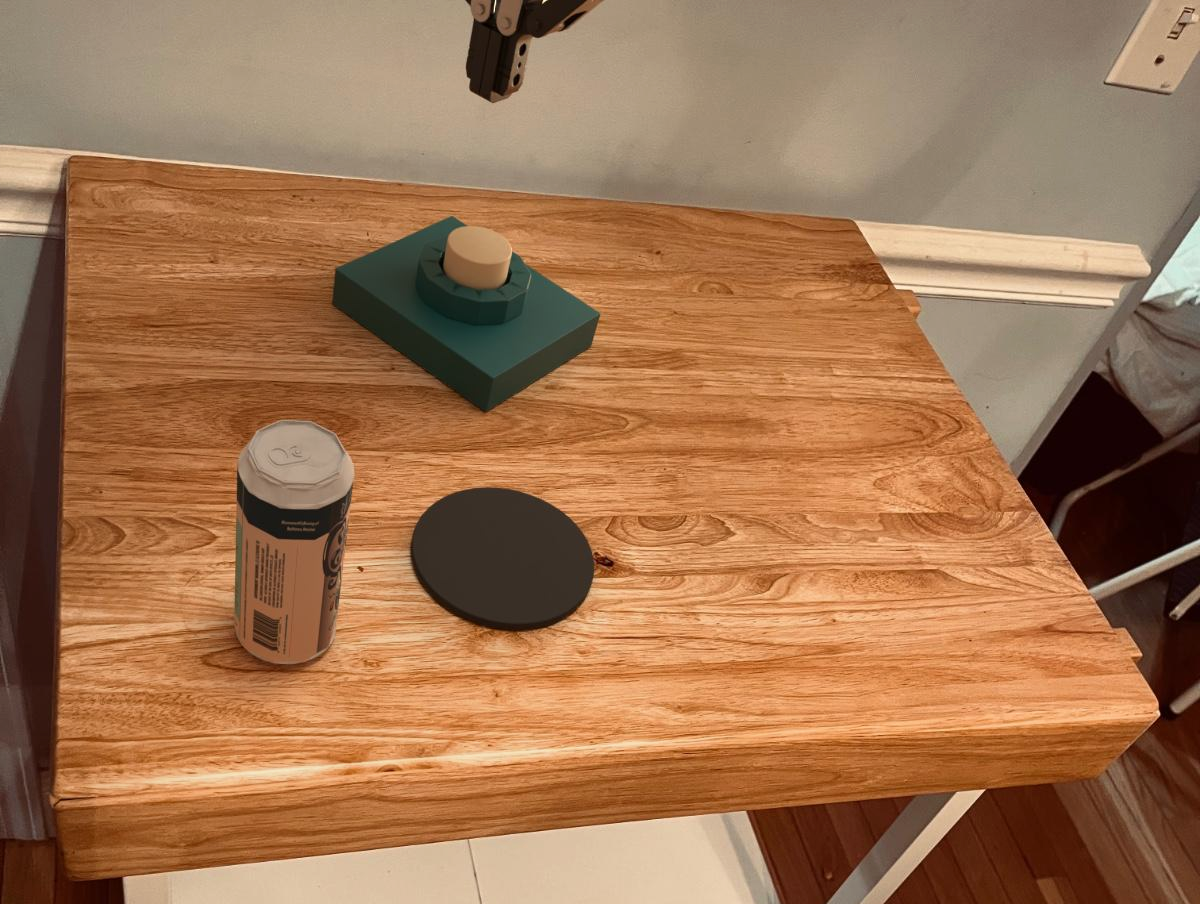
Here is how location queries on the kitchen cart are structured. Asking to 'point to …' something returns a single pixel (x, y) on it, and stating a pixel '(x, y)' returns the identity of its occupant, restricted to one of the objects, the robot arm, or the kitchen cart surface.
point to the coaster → (502, 558)
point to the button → (477, 258)
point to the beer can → (290, 540)
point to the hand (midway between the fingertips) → (490, 94)
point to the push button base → (464, 317)
